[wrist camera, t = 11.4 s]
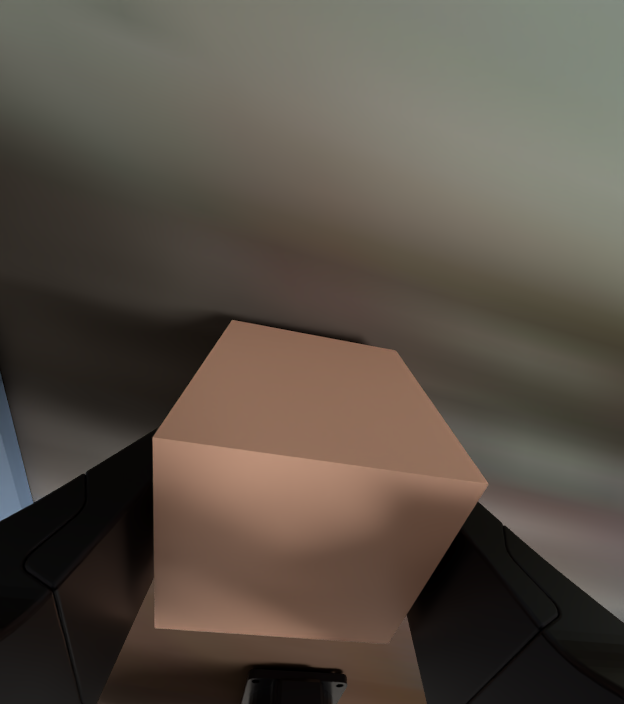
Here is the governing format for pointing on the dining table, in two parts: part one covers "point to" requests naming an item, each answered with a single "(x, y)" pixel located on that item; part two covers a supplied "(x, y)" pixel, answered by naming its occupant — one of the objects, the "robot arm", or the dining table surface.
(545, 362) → the dining table surface
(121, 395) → the dining table surface
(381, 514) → the terracotta block
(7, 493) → the board
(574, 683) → the robot arm
